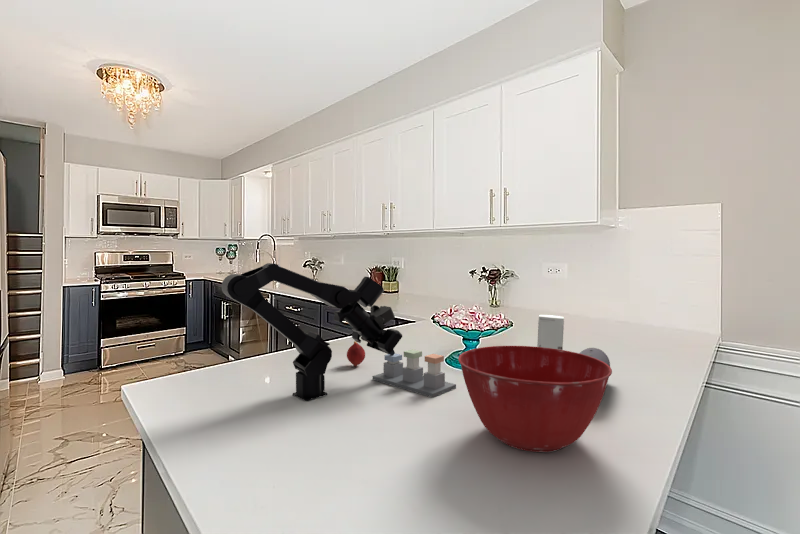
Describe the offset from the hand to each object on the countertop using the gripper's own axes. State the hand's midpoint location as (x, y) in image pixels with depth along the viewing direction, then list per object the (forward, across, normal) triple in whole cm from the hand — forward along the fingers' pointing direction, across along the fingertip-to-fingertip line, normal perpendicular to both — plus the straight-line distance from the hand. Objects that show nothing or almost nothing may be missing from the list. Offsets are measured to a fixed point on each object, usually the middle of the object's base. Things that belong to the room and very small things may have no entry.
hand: (393, 354), depth 122 cm
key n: (+3, -7, +1) cm, 8 cm away
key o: (+4, 0, +4) cm, 5 cm away
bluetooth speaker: (+30, -39, -20) cm, 53 cm away
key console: (+6, -7, +4) cm, 10 cm away
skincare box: (+44, -13, -34) cm, 57 cm away
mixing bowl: (+6, -47, +4) cm, 48 cm away
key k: (+4, -15, 0) cm, 15 cm away
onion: (+3, +17, +7) cm, 19 cm away
